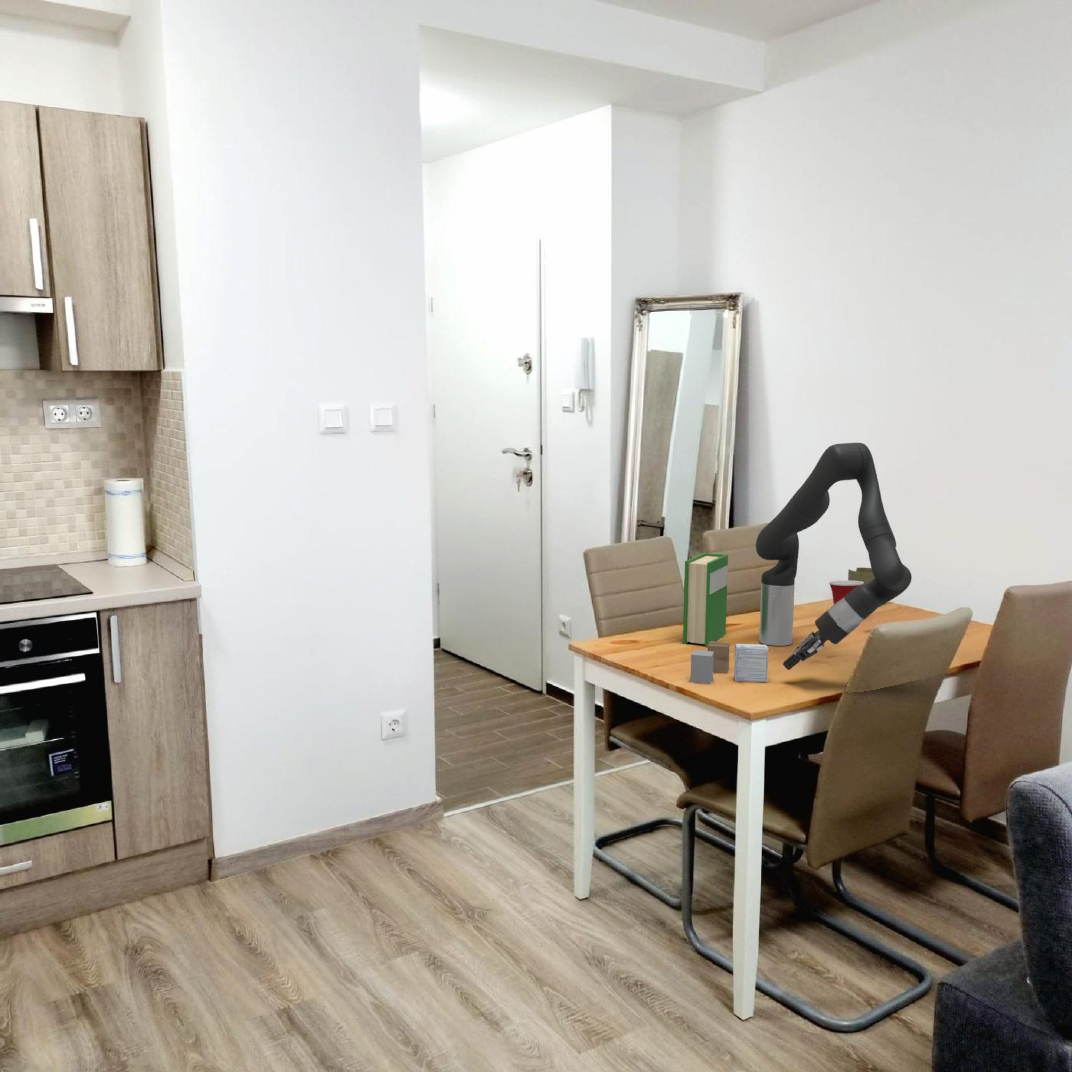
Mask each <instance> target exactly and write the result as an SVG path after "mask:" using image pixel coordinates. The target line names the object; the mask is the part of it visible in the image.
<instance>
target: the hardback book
mask: <svg viewBox="0 0 1072 1072" xmlns="http://www.w3.org/2000/svg"><path fill="white" fill-rule="evenodd" d="M728 566H729V554H721V553H709V552H708V553H707V552H703V553H701V554H698V555H696V556H693V557H692V558H688V559H686V560H685V561H684V579H683V580H684V589H683V590H684V591H683V618H682V619H683V623H682V627H683V628H682V645H683V644H686V645H688V644H689V643H688V642H690V643H691V644H699V645H704V648H708V645H709V642H710V641H715V642H719V640H720V638H721V639H722V638H723V637H725V636H726V634H727V630H726V629H727V609H728V608H727V606H728V605H727V602H728V601H727V599H728V576H729V575H728V572H729V567H728ZM724 635H725V636H724ZM687 643H688V644H687Z"/></svg>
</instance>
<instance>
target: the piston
mask: <svg viewBox="0 0 1072 1072" xmlns="http://www.w3.org/2000/svg"><path fill="white" fill-rule="evenodd" d="M847 570H848V571H847V572H848V573H847V581H862V582H864V584H868V583H869V582H871V581H872V580H873V579H875V577H874V574H873V572H872V568H871V567H856V569H855V570H852V569H850V568H849V569H847Z"/></svg>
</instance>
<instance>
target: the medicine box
mask: <svg viewBox="0 0 1072 1072" xmlns="http://www.w3.org/2000/svg"><path fill="white" fill-rule="evenodd" d="M768 665H769V647H768V645H767V644H756V643H755V644H754V643H752V644H750V643H735V644H734V667H733V672H734V674H733V676H734V677H733V678H734V680H735V681H734V682H744V683H745V682H749V683H753V682H754V683H767V682H768V675H769V674H768V673H769V672H768V670H769V669H768V668H769V666H768Z"/></svg>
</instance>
